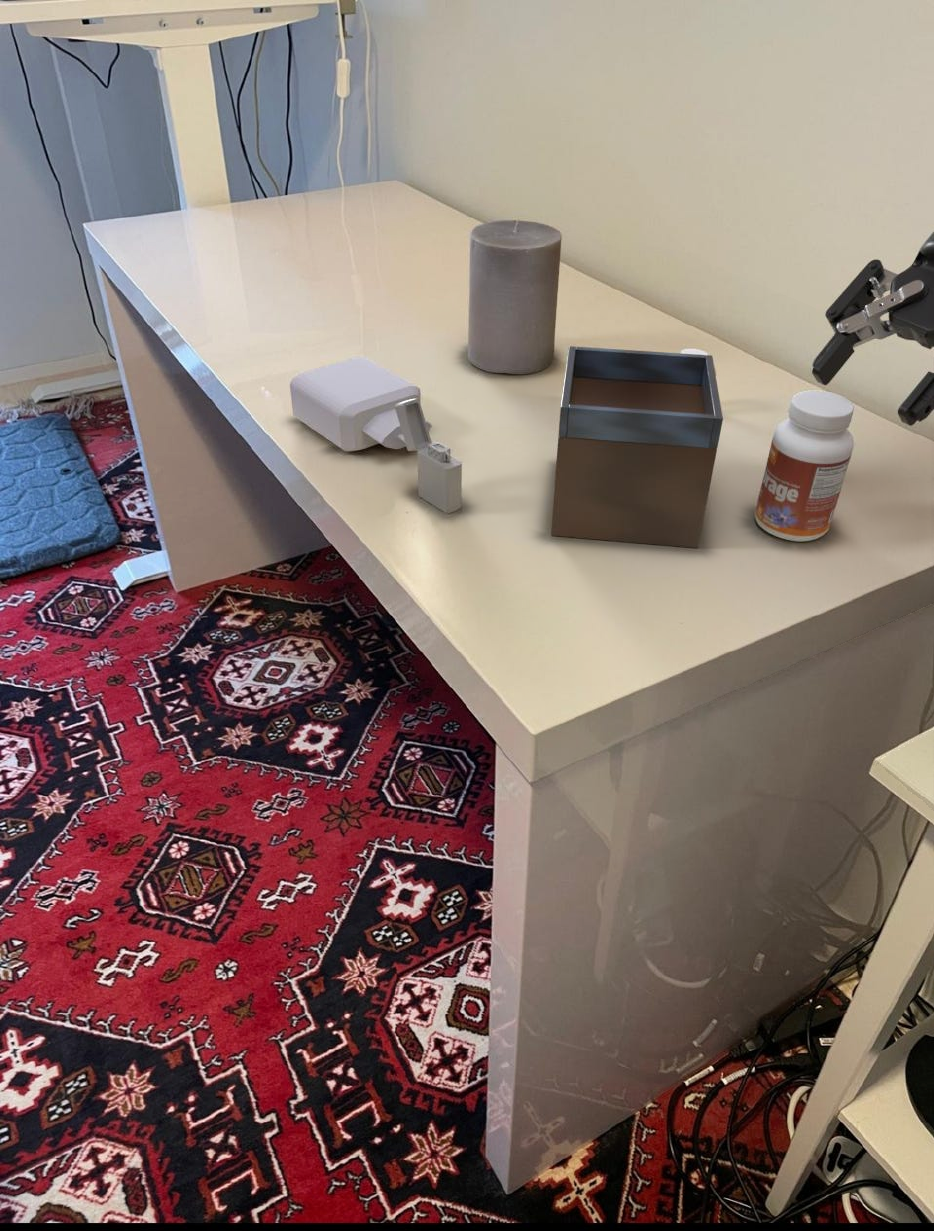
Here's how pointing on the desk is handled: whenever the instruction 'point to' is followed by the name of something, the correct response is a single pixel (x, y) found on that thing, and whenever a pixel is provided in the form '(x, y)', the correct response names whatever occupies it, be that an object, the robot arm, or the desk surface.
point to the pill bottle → (806, 467)
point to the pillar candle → (513, 296)
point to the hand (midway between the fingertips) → (859, 398)
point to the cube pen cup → (636, 446)
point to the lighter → (431, 460)
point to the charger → (353, 403)
